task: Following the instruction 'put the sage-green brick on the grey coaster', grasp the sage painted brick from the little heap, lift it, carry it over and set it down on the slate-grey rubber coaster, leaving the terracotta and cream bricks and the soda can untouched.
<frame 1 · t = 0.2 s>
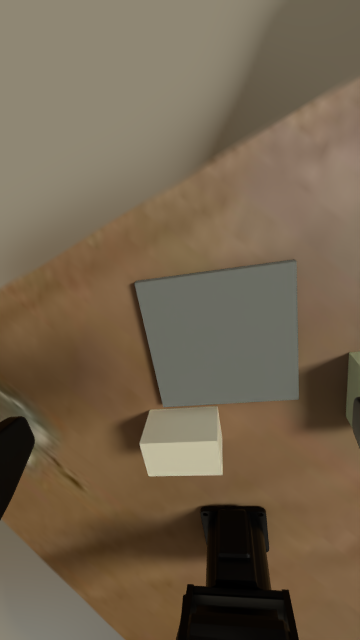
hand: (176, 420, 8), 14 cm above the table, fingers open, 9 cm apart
coaster: (220, 340, 23), on the table
brick cream: (186, 422, 27), on the table
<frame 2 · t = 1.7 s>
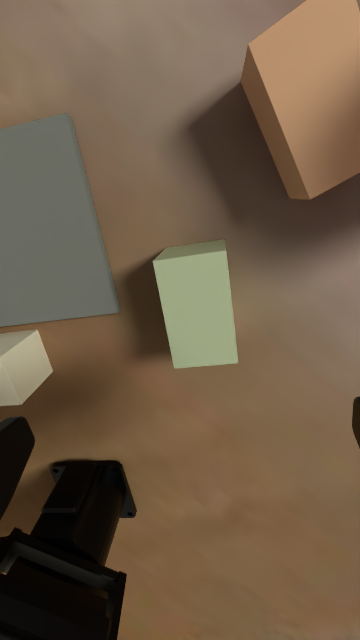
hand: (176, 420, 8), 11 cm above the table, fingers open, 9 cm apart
brick terracotta: (299, 122, 15), on the table
brick sage: (201, 291, 19), on the table
coaster: (16, 238, 19), on the table
brick cream: (10, 353, 22), on the table
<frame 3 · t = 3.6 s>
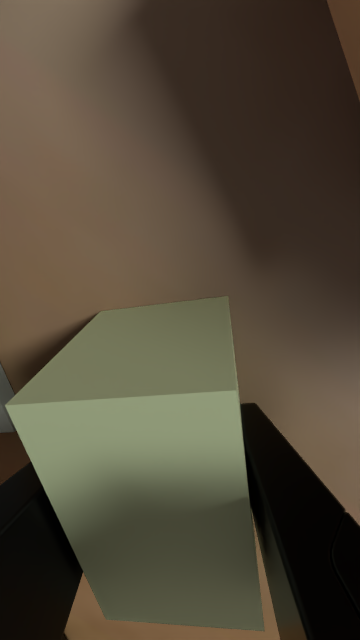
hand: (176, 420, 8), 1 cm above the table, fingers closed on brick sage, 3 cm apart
brick sage: (180, 396, 9), on the table, touching gripper
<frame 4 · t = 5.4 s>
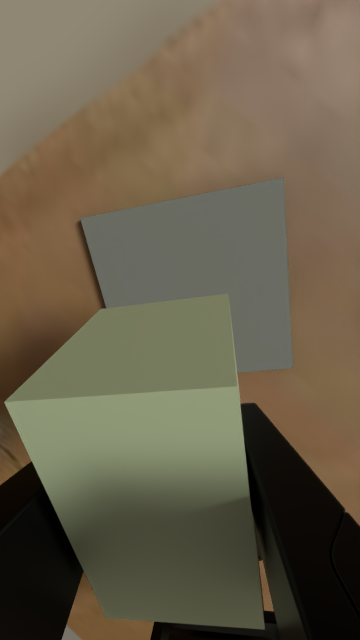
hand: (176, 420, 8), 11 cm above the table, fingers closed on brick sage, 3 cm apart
brick sage: (180, 394, 9), point 10 cm above the table, touching gripper
coaster: (193, 294, 18), on the table
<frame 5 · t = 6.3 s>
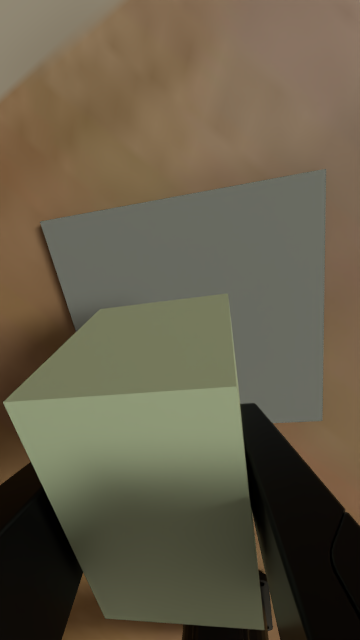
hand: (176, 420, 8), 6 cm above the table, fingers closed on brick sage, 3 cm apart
brick sage: (180, 394, 9), point 5 cm above the table, touching gripper
coaster: (193, 323, 14), on the table
when the fingers open (3 cm above the table, at t = 7.2 s): brick sage drops 1 cm, resting on coaster.
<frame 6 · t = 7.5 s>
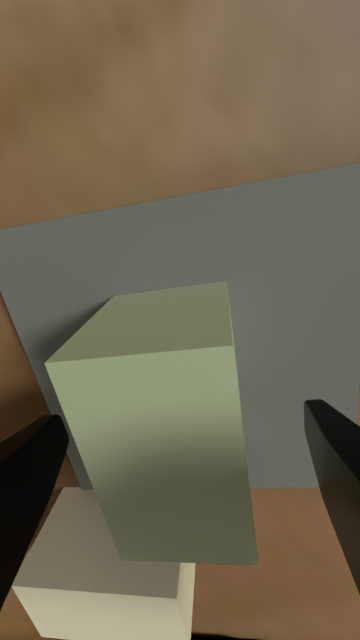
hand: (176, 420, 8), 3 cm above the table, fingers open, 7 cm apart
brick sage: (184, 373, 10), point 1 cm above the table, touching coaster
coaster: (186, 364, 11), on the table
brick cream: (131, 511, 14), on the table
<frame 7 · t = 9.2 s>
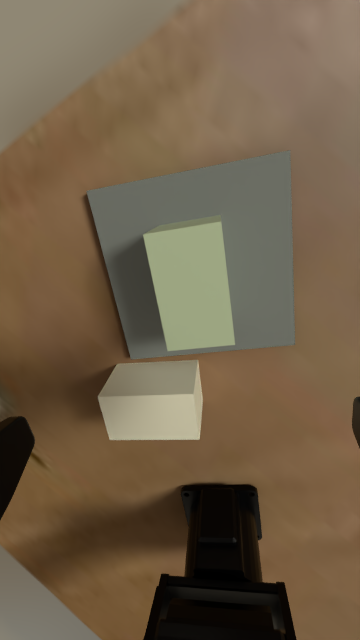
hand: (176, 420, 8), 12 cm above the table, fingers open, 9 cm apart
brick sage: (197, 272, 18), point 1 cm above the table, touching coaster
coaster: (197, 270, 18), on the table
brick cream: (160, 381, 22), on the table
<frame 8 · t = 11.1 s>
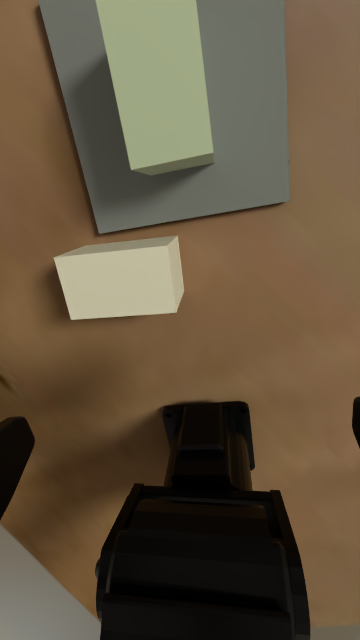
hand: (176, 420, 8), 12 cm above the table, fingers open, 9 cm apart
brick sage: (172, 103, 15), point 1 cm above the table, touching coaster
coaster: (173, 107, 15), on the table
brick cream: (135, 268, 19), on the table
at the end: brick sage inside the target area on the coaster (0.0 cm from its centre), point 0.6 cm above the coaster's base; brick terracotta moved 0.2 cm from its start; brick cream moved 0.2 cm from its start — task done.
